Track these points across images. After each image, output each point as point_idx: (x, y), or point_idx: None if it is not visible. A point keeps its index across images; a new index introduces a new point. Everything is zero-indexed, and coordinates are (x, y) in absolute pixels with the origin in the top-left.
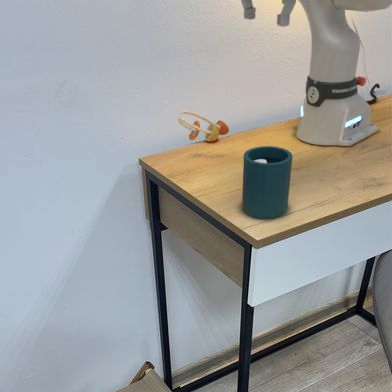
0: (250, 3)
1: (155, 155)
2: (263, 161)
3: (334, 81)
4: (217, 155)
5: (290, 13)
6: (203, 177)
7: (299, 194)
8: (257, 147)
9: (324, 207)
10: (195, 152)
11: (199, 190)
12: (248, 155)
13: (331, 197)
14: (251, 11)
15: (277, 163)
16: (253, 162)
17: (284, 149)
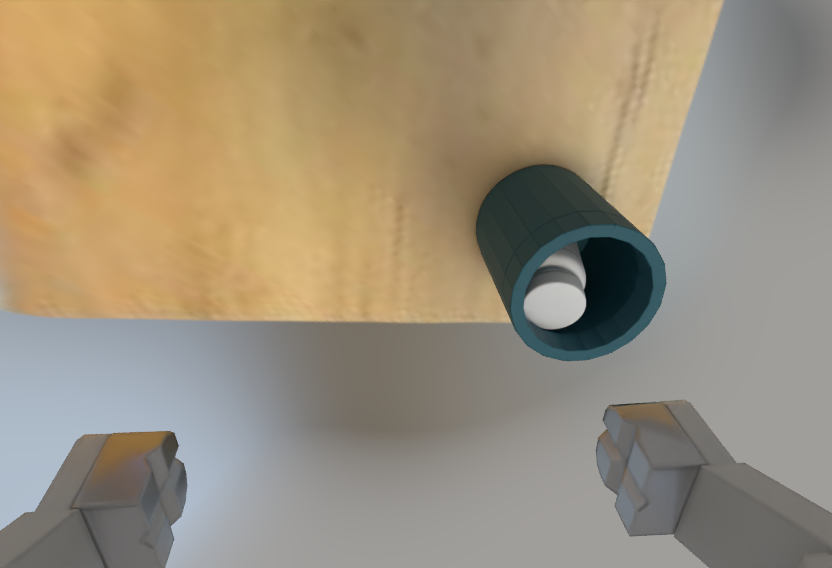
0: (48, 564)
1: (3, 269)
2: (568, 293)
3: None
4: (104, 93)
5: (746, 467)
6: (261, 241)
7: (549, 83)
8: (518, 285)
9: (656, 86)
10: (34, 144)
11: (334, 294)
12: (532, 329)
13: (638, 13)
14: (157, 518)
15: (651, 314)
16: (591, 358)
17: (599, 229)
